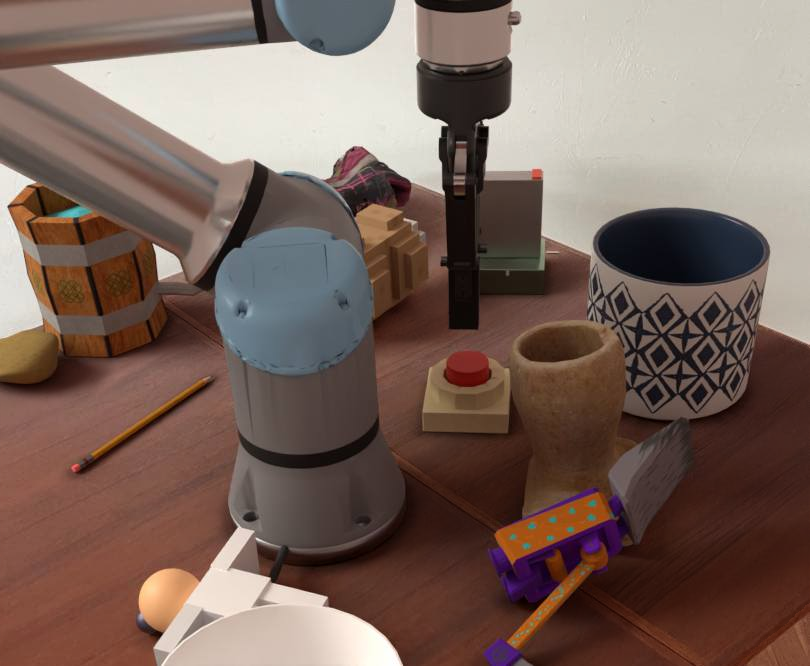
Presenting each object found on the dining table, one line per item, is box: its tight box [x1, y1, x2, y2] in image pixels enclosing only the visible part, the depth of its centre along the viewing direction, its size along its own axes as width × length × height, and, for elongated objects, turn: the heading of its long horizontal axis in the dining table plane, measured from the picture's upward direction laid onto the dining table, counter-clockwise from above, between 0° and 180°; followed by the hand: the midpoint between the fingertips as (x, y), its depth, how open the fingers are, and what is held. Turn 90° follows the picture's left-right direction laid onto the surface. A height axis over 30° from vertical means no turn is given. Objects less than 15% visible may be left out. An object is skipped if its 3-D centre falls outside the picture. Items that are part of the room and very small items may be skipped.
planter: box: [585, 206, 771, 421], centre depth 107 cm, size 16×16×14 cm
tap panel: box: [480, 237, 560, 295], centre depth 128 cm, size 11×11×3 cm
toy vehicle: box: [483, 417, 696, 666], centre depth 83 cm, size 9×21×15 cm
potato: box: [0, 329, 59, 385], centre depth 116 cm, size 7×8×8 cm
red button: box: [446, 350, 489, 387], centre depth 106 cm, size 4×4×2 cm
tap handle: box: [478, 168, 544, 258], centre depth 124 cm, size 7×2×9 cm, turn 85°
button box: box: [421, 356, 511, 434], centre depth 108 cm, size 8×8×4 cm
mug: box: [6, 182, 205, 358], centre depth 120 cm, size 20×14×15 cm
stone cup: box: [507, 319, 639, 548], centre depth 93 cm, size 15×12×15 cm
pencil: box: [71, 375, 213, 473], centre depth 109 cm, size 19×1×1 cm, turn 145°
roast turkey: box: [355, 204, 430, 321], centre depth 121 cm, size 10×18×10 cm, turn 145°
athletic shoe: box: [320, 145, 412, 218], centre depth 135 cm, size 11×22×12 cm
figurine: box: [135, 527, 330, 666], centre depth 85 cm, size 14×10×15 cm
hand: (464, 325), depth 103 cm, fingers closed
